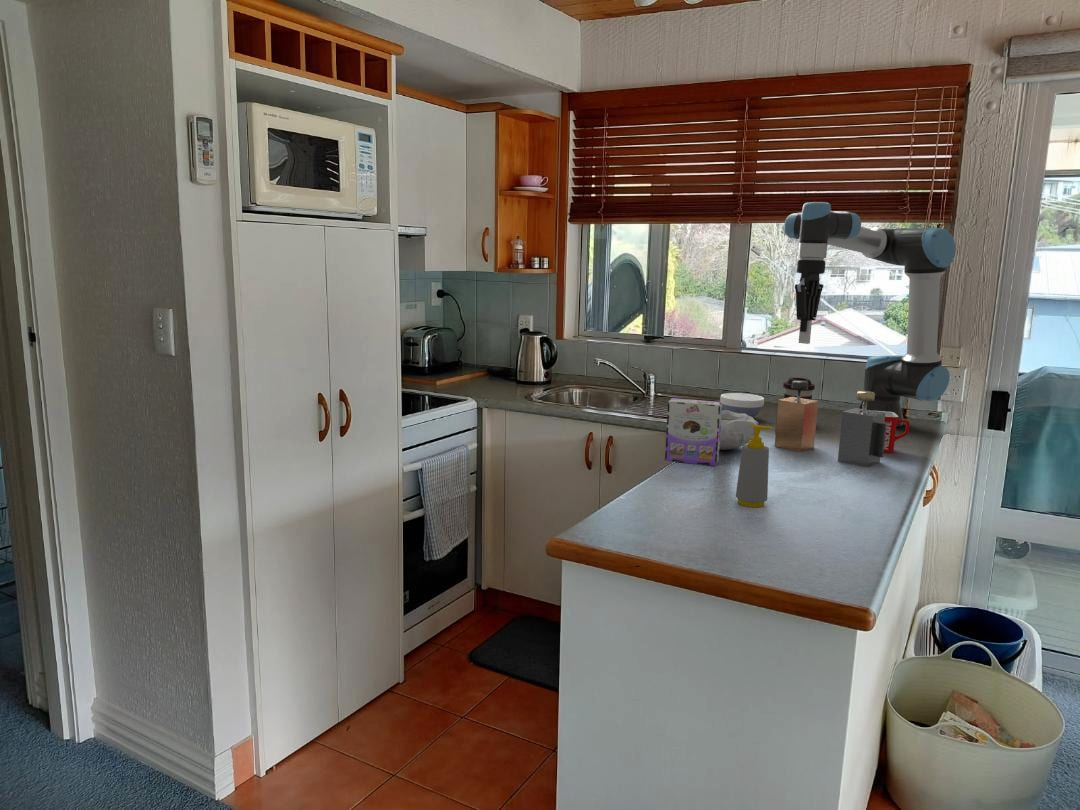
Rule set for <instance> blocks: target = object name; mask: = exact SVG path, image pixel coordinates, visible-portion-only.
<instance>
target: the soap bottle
mask: <svg viewBox="0 0 1080 810" xmlns="http://www.w3.org/2000/svg"><path fill="white" fill-rule="evenodd" d="M750 426H753V427H754V436H753V437H751V440H750V441H748V443H747V444H745V445H743V446H741V455H740V460H739V461H740V462H739V469H738V476H737V477H738V478H737V483H736V492H735V498H737V503H738V504H739V505H742V506H744V507H749V508H761V507H763V506H764V504H765V502H767V501H768V489H769V486H768V485H769V462H770V461H769V458H770V456H769V455H770V448H769V447H768V446H766V445H765V443H764V442H763V441H762V439H763V438H762V437H761V436H760V434H761V431H766V430H767V431H768V430H774V427H772V426H764V425H754V424H750Z"/></svg>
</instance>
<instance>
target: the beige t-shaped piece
mask: <svg viewBox="0 0 1080 810" xmlns="http://www.w3.org/2000/svg"><path fill="white" fill-rule="evenodd" d="M874 398H875V393H874V392H869V391H864V390H858V391H857V393H856V400H858V401H863V408H862V413H866V408H867V401H874Z"/></svg>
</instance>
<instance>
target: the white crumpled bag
mask: <svg viewBox="0 0 1080 810" xmlns="http://www.w3.org/2000/svg"><path fill="white" fill-rule="evenodd" d="M750 424H754V425H759V422H758V421H757V420H755V418H754V419H753V418H752V417H751V416H748V415H747V414H738V413H735V412H732V411H729V410H724V409H723V410H722V414H721V433H720V447H719V451H720V450H721V451H722V450H723V451H729V450H736V449H738V448H739V449H740V448H742V446H743V445H746V444H748V441H751V437H753V436H754V427H753V426H750ZM759 426H760V425H759Z"/></svg>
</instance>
